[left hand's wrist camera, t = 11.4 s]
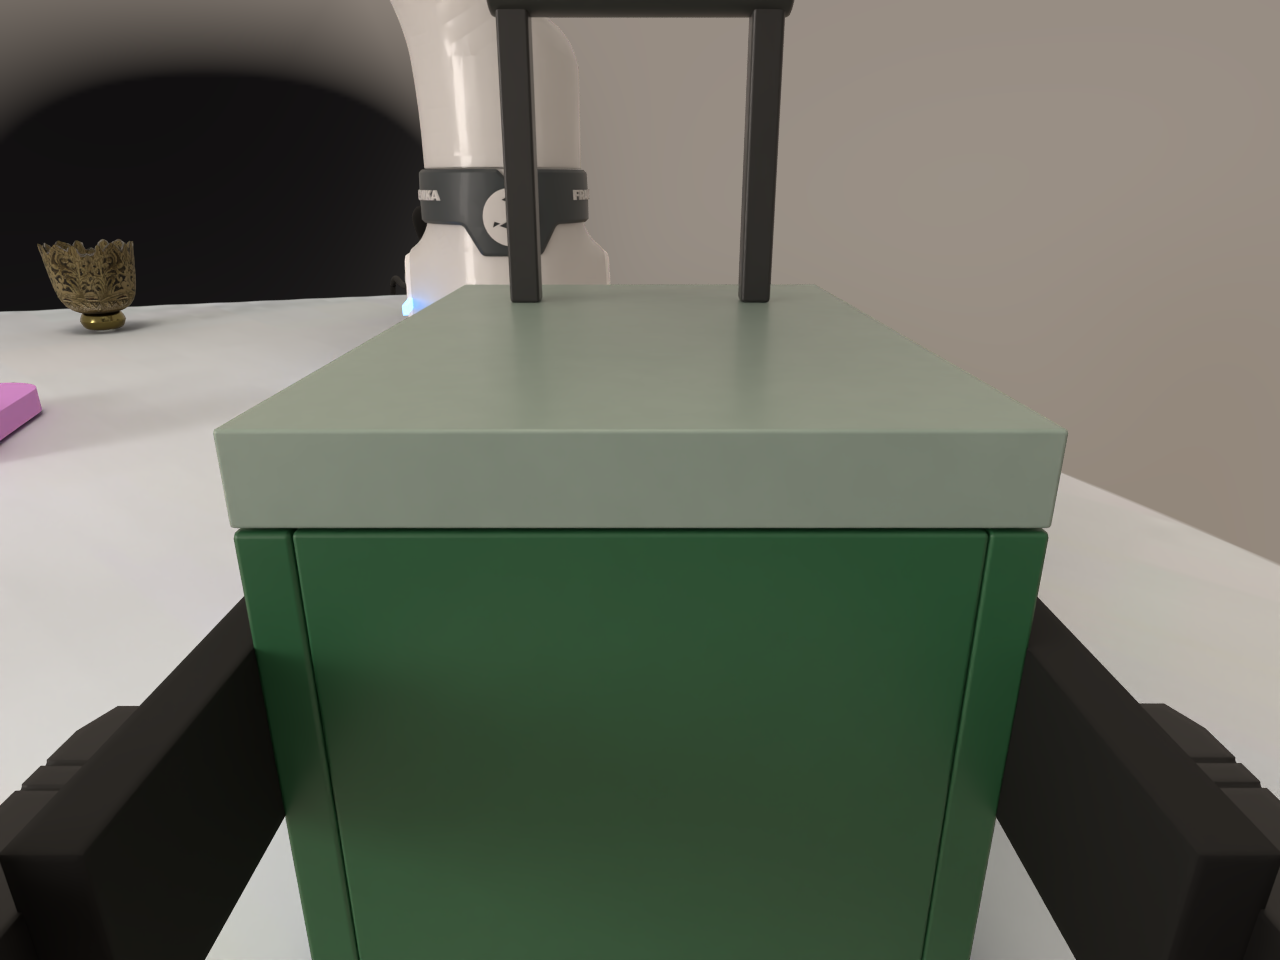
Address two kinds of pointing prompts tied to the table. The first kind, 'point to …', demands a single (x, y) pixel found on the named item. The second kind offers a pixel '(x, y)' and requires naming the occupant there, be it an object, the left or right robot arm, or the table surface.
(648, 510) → the lid
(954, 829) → the chest
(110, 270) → the cup
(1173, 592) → the table surface
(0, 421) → the bracket
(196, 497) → the table surface
